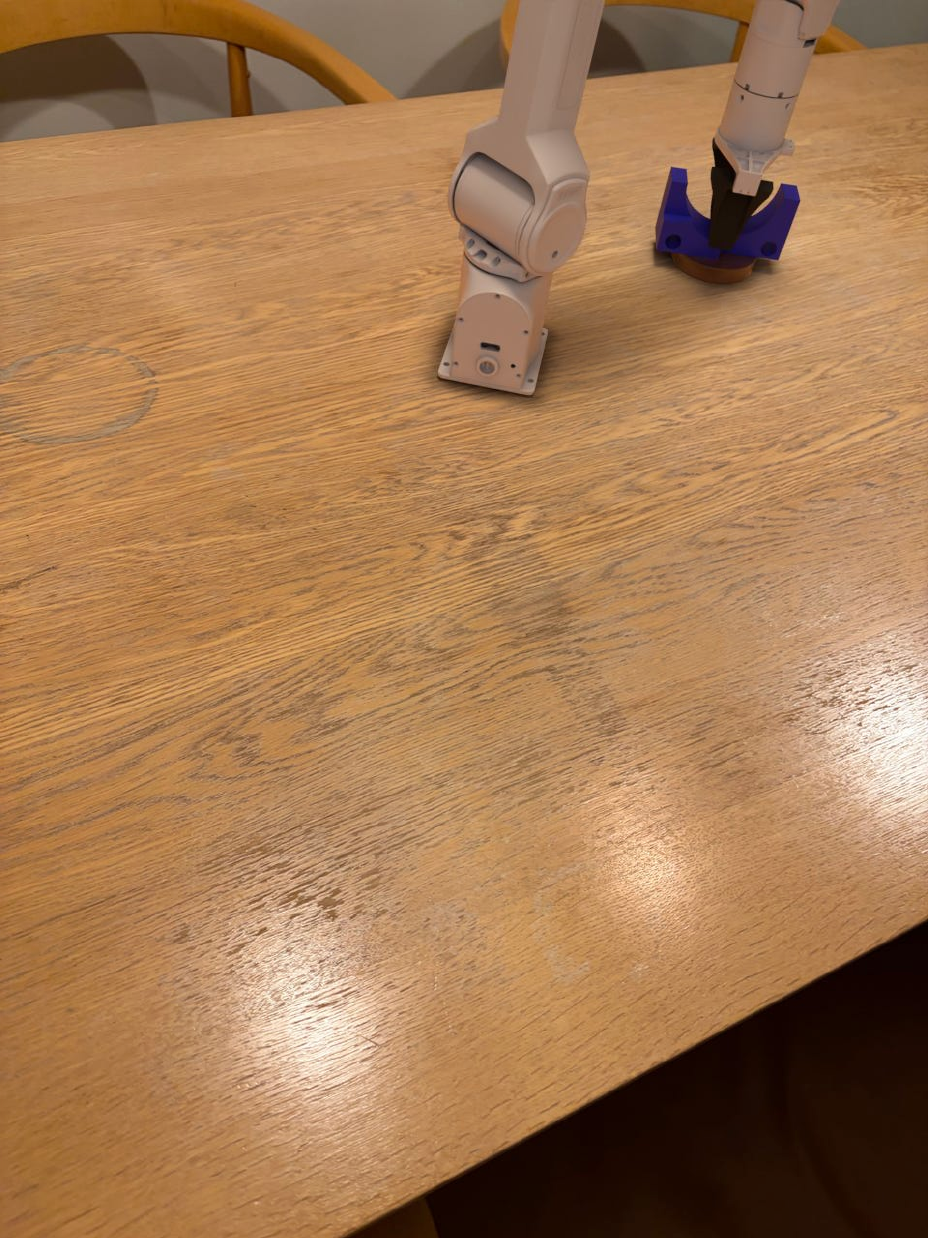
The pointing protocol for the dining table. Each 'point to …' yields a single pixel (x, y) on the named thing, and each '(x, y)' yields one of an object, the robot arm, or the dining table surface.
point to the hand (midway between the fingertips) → (720, 233)
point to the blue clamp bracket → (690, 229)
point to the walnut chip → (716, 267)
